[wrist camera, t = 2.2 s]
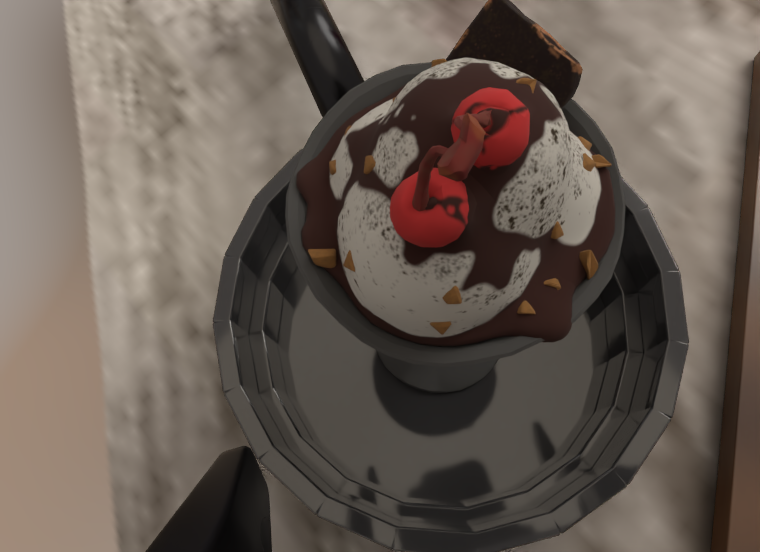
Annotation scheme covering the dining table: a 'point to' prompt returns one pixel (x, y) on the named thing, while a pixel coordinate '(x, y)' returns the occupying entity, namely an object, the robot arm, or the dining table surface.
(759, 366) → the walnut board
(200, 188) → the dining table surface
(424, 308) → the sundae
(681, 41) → the dining table surface
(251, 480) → the robot arm
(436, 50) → the dining table surface
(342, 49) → the skillet handle
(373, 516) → the skillet
